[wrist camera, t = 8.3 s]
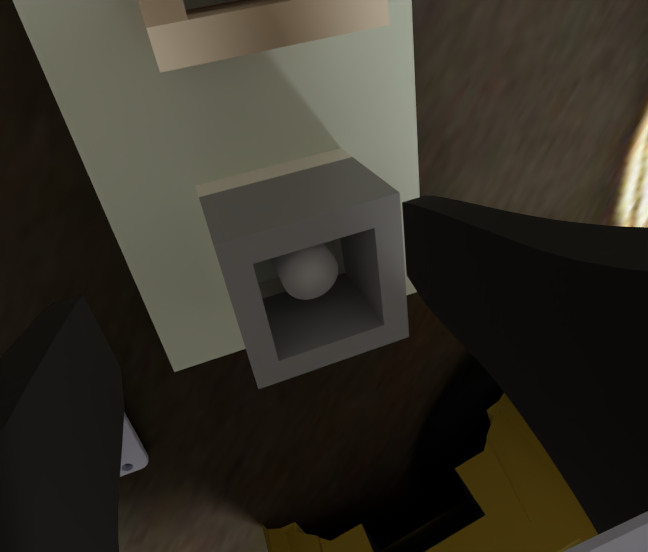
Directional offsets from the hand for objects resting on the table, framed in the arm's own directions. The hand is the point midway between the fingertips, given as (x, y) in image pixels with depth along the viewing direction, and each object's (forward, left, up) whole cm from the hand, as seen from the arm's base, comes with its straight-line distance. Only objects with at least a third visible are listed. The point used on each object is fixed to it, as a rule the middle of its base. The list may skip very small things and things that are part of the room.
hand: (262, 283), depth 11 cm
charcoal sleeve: (+2, -3, -8) cm, 9 cm away
